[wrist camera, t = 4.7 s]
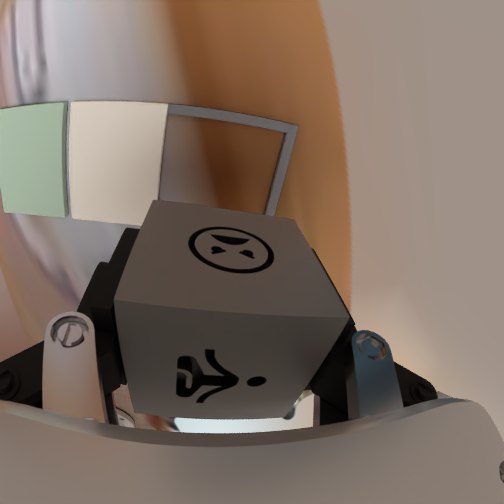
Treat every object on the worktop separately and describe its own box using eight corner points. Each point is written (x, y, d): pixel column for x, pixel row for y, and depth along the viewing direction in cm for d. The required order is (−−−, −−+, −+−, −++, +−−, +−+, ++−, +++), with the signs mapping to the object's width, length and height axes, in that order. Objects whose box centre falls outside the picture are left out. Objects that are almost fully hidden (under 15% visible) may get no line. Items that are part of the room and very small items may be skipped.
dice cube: (153, 199, 9) (113, 299, 5) (294, 219, 10) (349, 317, 6) (149, 308, 12) (134, 412, 7) (260, 318, 13) (284, 417, 9)
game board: (266, 236, 21) (268, 240, 20) (8, 208, 16) (4, 212, 16) (296, 125, 16) (299, 126, 16) (1, 108, 12) (-3, 110, 11)
